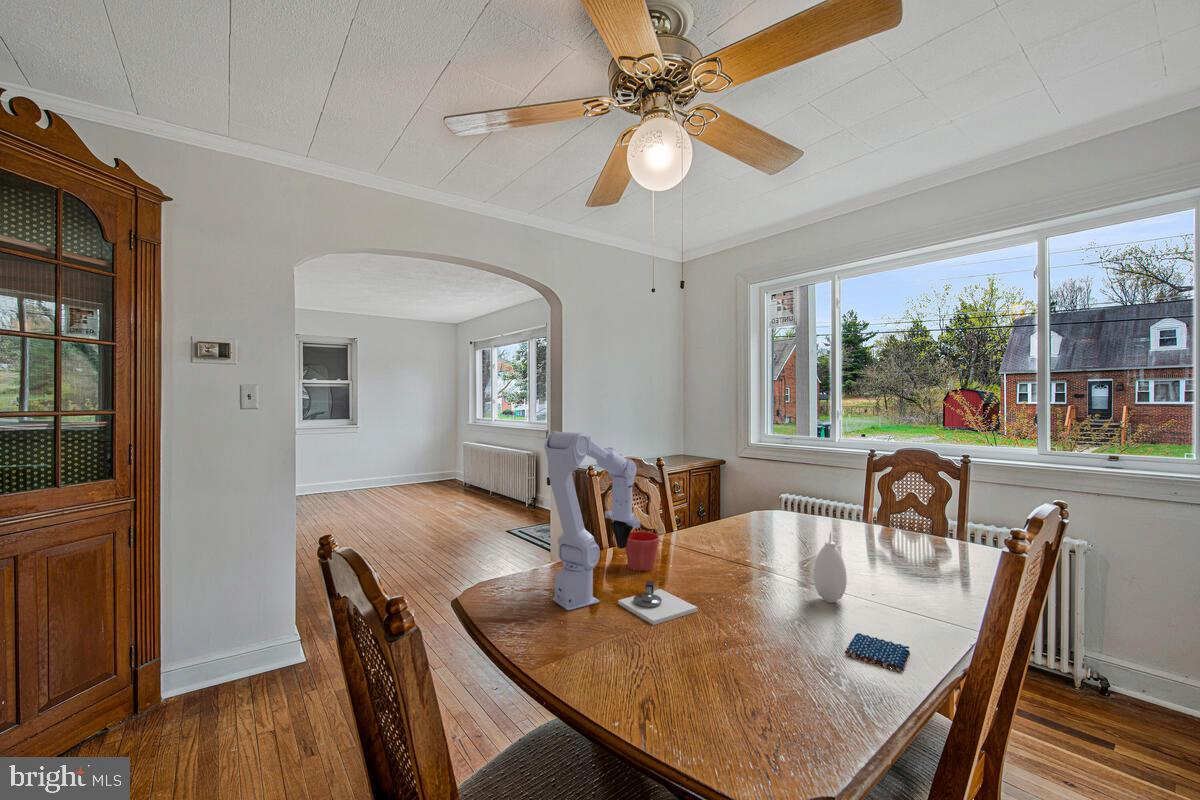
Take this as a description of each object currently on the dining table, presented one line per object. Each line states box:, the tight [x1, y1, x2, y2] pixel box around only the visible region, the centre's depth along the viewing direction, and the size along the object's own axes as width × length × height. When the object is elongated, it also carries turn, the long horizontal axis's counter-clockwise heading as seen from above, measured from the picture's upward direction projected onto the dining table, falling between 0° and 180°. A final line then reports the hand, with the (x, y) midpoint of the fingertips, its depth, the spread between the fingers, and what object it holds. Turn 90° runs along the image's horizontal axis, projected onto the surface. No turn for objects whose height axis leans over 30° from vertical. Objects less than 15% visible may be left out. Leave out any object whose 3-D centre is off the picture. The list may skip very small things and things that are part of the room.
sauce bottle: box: [812, 532, 848, 604], centre depth 131 cm, size 8×8×18 cm
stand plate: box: [617, 588, 699, 626], centre depth 126 cm, size 14×14×1 cm
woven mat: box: [844, 632, 911, 672], centre depth 104 cm, size 10×11×2 cm
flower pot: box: [625, 530, 660, 572], centre depth 156 cm, size 11×11×10 cm
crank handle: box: [634, 580, 662, 607], centre depth 129 cm, size 11×7×2 cm, turn 169°
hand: (621, 547), depth 144 cm, fingers closed
